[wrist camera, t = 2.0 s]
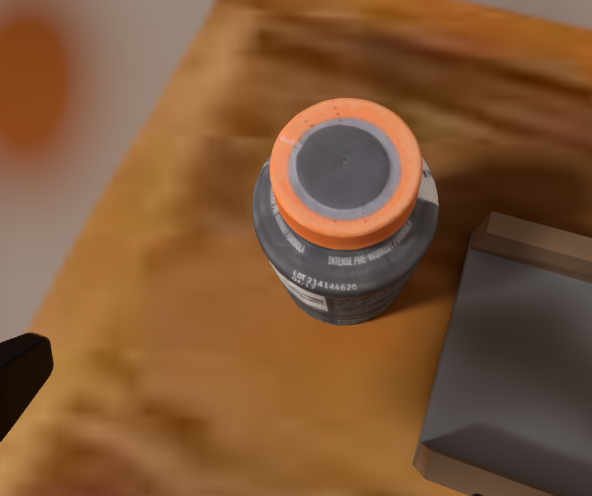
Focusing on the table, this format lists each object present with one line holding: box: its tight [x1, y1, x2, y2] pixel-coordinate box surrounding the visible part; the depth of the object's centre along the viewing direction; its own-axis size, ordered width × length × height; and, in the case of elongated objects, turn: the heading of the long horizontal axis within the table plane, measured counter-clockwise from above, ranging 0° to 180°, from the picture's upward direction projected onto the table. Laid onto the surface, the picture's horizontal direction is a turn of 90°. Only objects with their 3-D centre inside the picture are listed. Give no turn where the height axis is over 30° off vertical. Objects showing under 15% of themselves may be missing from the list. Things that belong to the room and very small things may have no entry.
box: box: [412, 211, 592, 496], centre depth 19 cm, size 11×11×3 cm
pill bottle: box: [252, 98, 439, 325], centre depth 17 cm, size 6×6×11 cm
